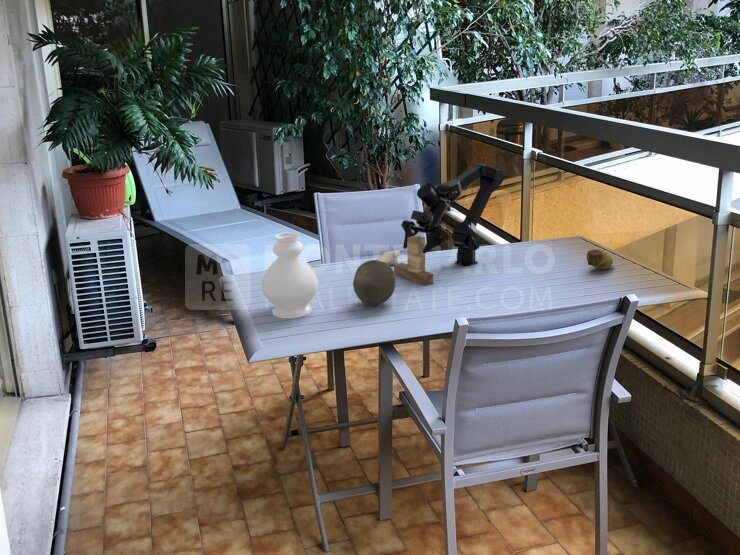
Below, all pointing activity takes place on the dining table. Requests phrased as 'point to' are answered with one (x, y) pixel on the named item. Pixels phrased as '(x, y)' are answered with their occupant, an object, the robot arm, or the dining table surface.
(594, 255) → the olive green oval lump
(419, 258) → the oak post
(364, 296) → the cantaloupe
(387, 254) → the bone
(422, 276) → the brown wooden bar
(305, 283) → the decorative vase
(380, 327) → the dining table surface
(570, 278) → the dining table surface
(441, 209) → the robot arm
